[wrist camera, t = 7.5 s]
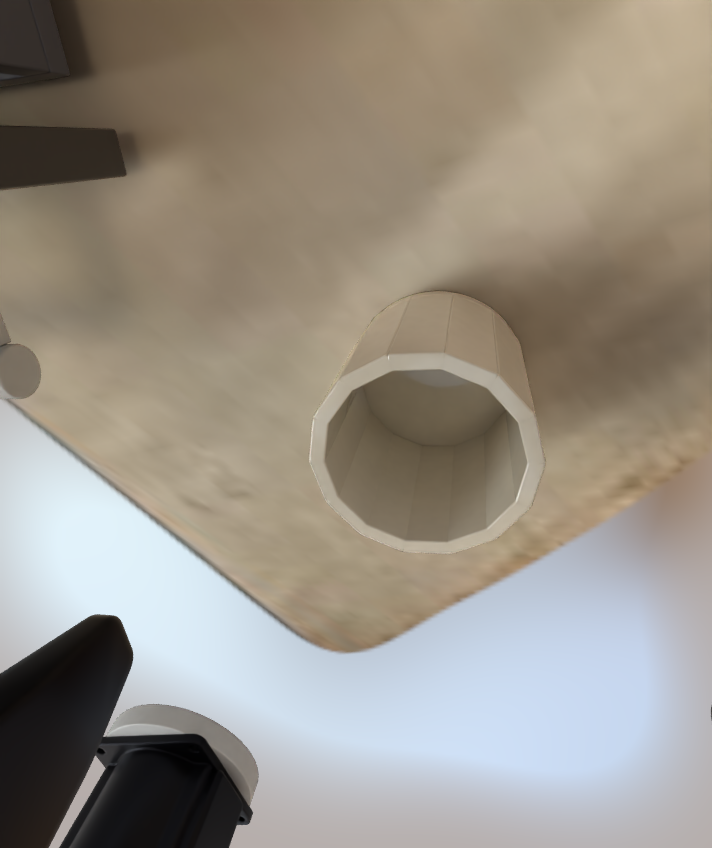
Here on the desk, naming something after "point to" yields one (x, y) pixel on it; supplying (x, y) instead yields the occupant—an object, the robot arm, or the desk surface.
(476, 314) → the container
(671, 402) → the desk surface
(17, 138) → the drawer
